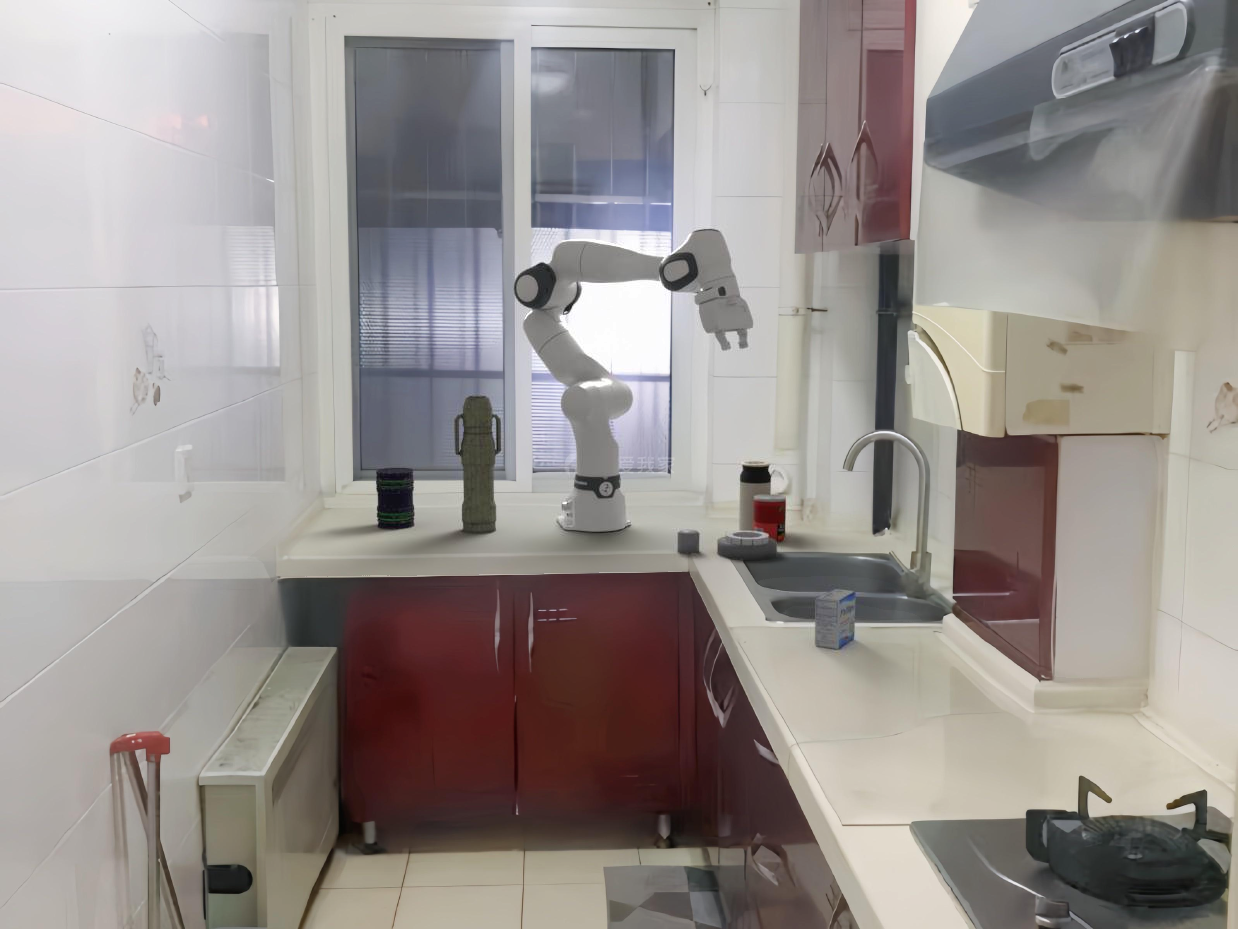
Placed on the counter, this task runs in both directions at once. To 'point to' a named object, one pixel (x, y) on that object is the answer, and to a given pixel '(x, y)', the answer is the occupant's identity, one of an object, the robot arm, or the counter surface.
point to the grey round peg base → (747, 545)
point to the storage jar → (395, 498)
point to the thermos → (478, 463)
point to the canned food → (770, 515)
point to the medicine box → (835, 618)
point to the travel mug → (752, 490)
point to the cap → (688, 542)
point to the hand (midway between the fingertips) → (735, 349)
